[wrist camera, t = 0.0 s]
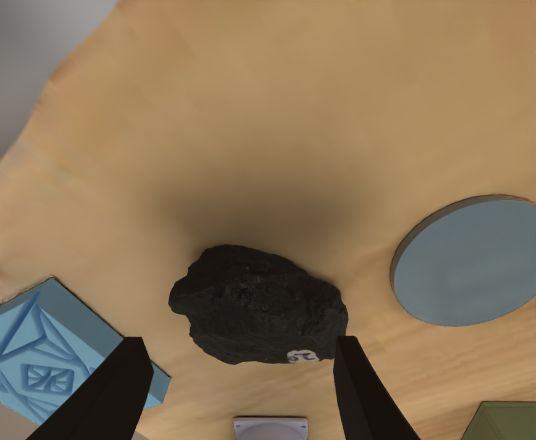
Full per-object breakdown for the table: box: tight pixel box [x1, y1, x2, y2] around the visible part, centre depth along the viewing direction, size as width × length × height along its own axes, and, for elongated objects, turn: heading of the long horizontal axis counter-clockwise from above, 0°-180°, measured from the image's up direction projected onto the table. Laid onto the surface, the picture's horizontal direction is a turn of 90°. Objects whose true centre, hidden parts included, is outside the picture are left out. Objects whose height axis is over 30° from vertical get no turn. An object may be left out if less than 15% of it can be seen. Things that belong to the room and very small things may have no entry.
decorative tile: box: [0, 278, 170, 426], centre depth 26 cm, size 14×14×2 cm
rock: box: [168, 245, 348, 365], centre depth 20 cm, size 9×10×6 cm
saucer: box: [390, 195, 536, 327], centre depth 21 cm, size 11×11×1 cm
